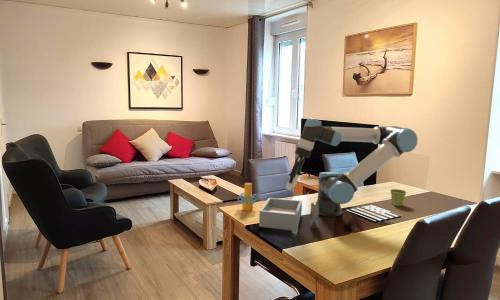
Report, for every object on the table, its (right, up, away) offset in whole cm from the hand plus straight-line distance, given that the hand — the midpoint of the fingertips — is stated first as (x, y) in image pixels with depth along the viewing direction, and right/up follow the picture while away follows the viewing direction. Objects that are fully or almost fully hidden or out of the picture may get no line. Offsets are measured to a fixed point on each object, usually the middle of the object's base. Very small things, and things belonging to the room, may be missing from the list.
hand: (290, 187), depth 185 cm
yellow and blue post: (-22, -15, +21) cm, 33 cm away
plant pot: (+70, -15, +38) cm, 81 cm away
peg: (+11, -19, -3) cm, 23 cm away
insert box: (-4, -17, +4) cm, 19 cm away
